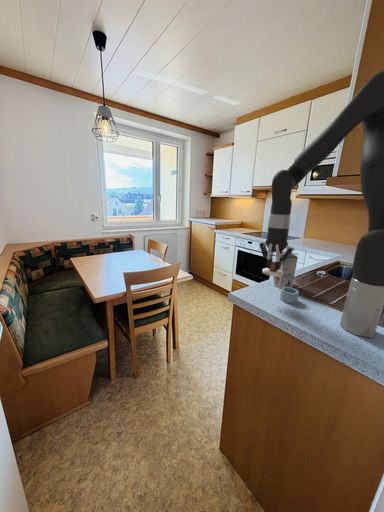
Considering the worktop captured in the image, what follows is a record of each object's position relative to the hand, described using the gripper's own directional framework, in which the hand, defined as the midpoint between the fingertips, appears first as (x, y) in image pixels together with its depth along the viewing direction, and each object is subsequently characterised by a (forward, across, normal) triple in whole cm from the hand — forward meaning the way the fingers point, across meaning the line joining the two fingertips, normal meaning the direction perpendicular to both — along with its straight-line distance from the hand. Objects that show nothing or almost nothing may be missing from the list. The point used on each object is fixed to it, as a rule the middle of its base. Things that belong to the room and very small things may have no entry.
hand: (273, 269), depth 86 cm
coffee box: (+14, +3, -20) cm, 25 cm away
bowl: (+14, -6, -6) cm, 16 cm away
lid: (+2, 0, 0) cm, 2 cm away
